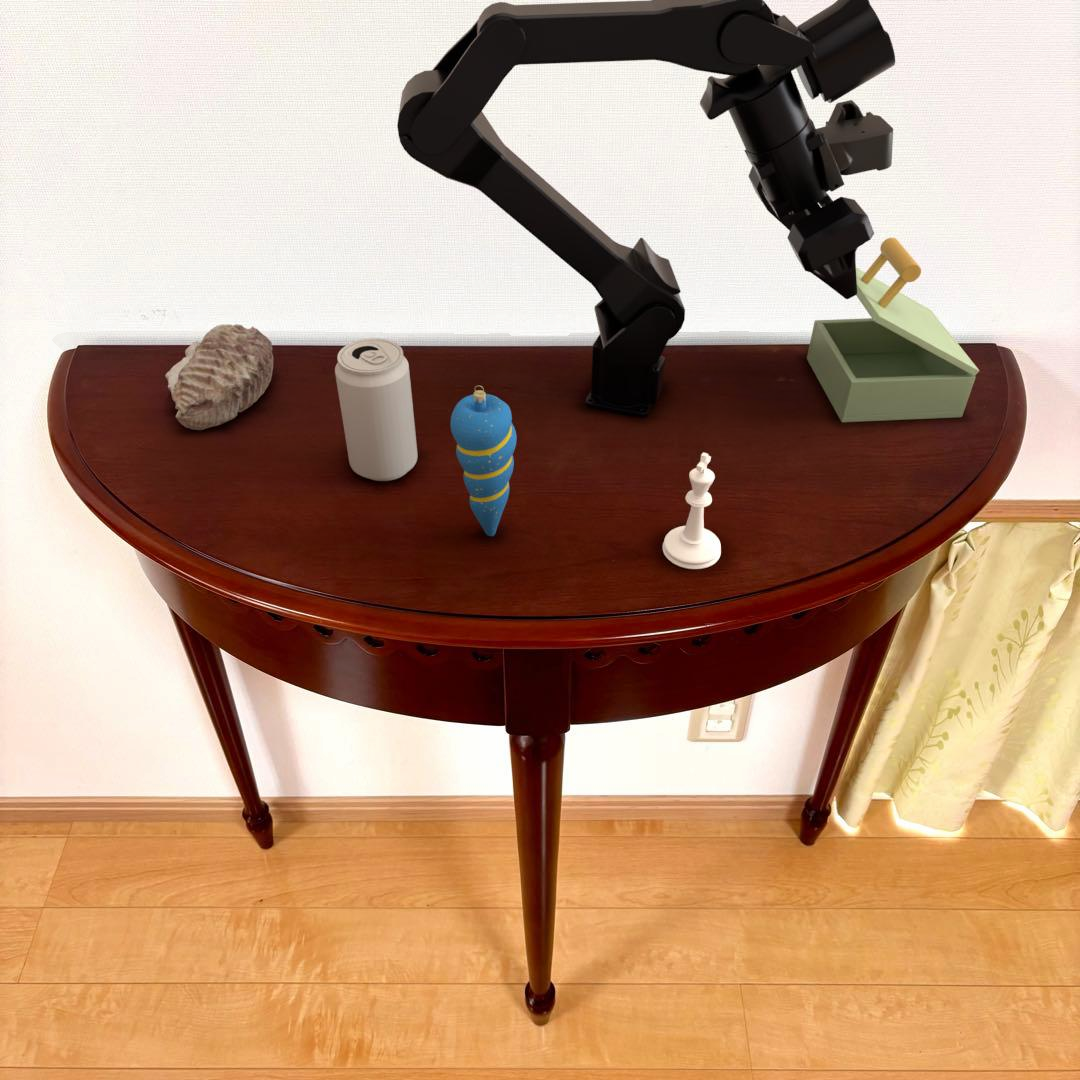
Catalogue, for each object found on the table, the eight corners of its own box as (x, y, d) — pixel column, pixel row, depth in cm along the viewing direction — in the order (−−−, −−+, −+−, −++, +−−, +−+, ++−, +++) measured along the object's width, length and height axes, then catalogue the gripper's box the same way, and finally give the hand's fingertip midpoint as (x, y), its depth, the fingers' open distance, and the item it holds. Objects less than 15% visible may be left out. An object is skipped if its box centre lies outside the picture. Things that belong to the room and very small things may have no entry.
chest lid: (874, 321, 89) (915, 271, 86) (833, 262, 98) (869, 215, 95) (974, 376, 93) (1017, 331, 90) (926, 315, 103) (963, 272, 100)
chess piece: (730, 543, 82) (746, 448, 76) (705, 577, 79) (720, 481, 72) (678, 524, 84) (690, 429, 78) (652, 555, 81) (662, 460, 74)
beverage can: (390, 437, 94) (377, 327, 86) (432, 465, 90) (422, 353, 83) (336, 464, 91) (317, 353, 83) (378, 495, 87) (362, 381, 79)
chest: (841, 422, 96) (851, 382, 93) (806, 358, 105) (814, 320, 102) (962, 417, 97) (975, 377, 94) (916, 354, 106) (927, 315, 103)
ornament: (510, 558, 81) (506, 408, 71) (451, 550, 81) (439, 400, 72) (523, 519, 85) (521, 372, 75) (467, 512, 85) (457, 365, 75)
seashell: (189, 333, 104) (213, 269, 96) (271, 373, 107) (301, 314, 100) (139, 429, 95) (161, 366, 87) (230, 468, 98) (259, 411, 91)
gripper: (905, 115, 73) (957, 274, 83) (831, 48, 87) (883, 191, 97) (771, 193, 77) (835, 338, 86) (720, 116, 91) (780, 248, 100)
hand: (836, 273), depth 92 cm, fingers open, 9 cm apart
